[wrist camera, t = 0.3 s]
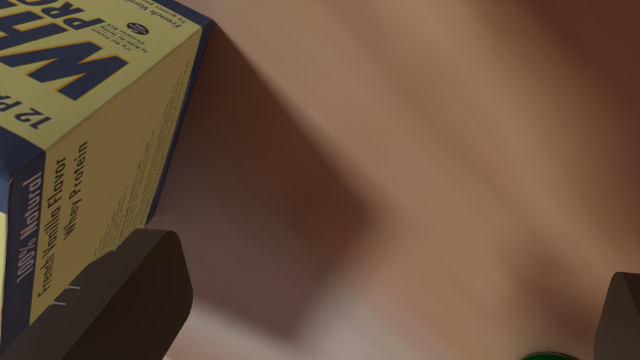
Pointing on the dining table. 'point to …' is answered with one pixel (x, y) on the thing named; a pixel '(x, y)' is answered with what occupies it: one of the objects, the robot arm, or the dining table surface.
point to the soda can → (545, 356)
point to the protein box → (84, 134)
